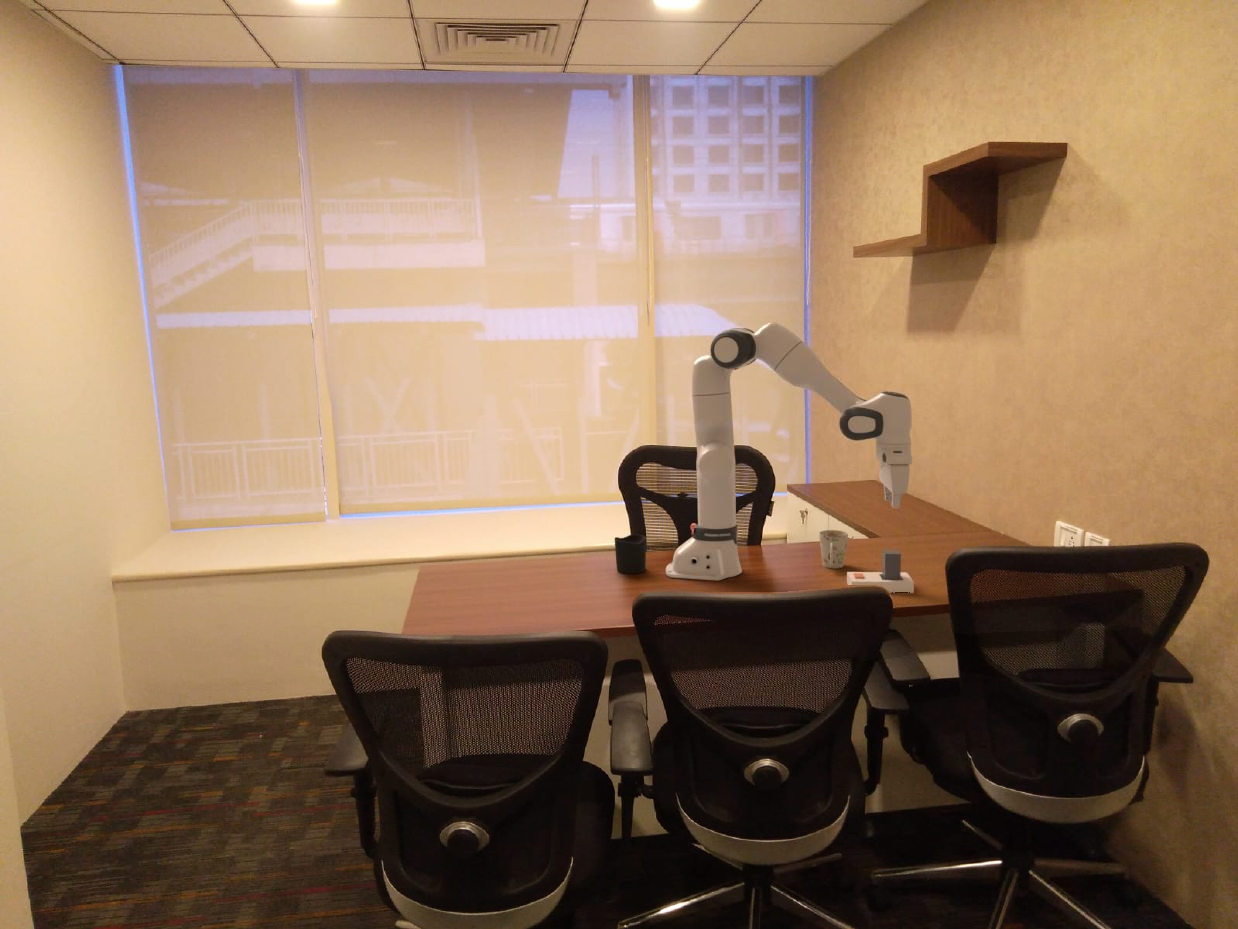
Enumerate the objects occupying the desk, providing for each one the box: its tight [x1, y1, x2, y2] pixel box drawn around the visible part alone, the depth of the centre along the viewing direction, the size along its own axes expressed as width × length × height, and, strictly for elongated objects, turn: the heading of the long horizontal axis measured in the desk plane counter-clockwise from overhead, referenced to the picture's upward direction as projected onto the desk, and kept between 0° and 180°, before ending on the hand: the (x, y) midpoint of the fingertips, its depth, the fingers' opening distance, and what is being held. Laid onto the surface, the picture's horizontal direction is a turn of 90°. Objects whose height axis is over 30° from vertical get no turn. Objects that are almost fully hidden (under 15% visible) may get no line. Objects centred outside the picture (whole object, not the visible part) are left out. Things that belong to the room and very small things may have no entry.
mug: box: [818, 529, 849, 569], centre depth 238 cm, size 8×13×10 cm, turn 164°
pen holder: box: [614, 534, 647, 575], centre depth 243 cm, size 9×9×10 cm
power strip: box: [846, 571, 915, 594], centre depth 219 cm, size 16×9×4 cm, turn 82°
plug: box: [881, 549, 902, 580], centre depth 218 cm, size 4×4×10 cm
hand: (892, 504), depth 215 cm, fingers open, 8 cm apart
